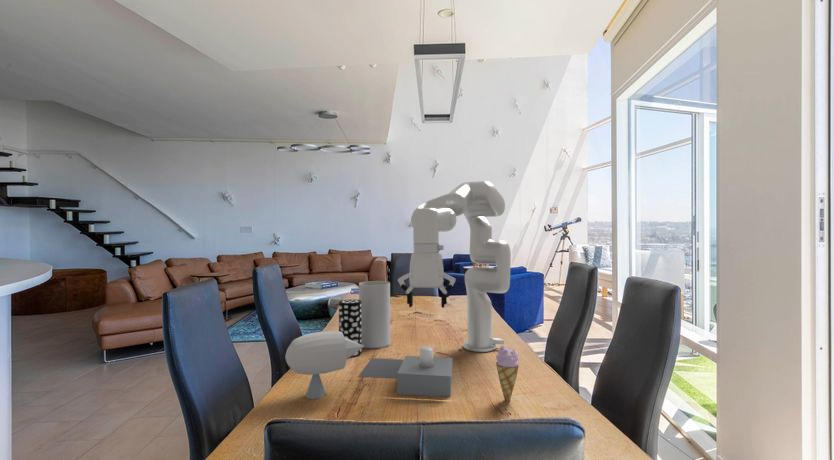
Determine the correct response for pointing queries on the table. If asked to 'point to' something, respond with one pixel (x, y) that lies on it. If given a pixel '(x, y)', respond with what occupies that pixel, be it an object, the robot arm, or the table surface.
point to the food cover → (425, 374)
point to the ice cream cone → (507, 370)
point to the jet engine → (319, 357)
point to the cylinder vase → (375, 313)
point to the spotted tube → (351, 321)
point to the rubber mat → (382, 368)
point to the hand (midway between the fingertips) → (426, 306)
